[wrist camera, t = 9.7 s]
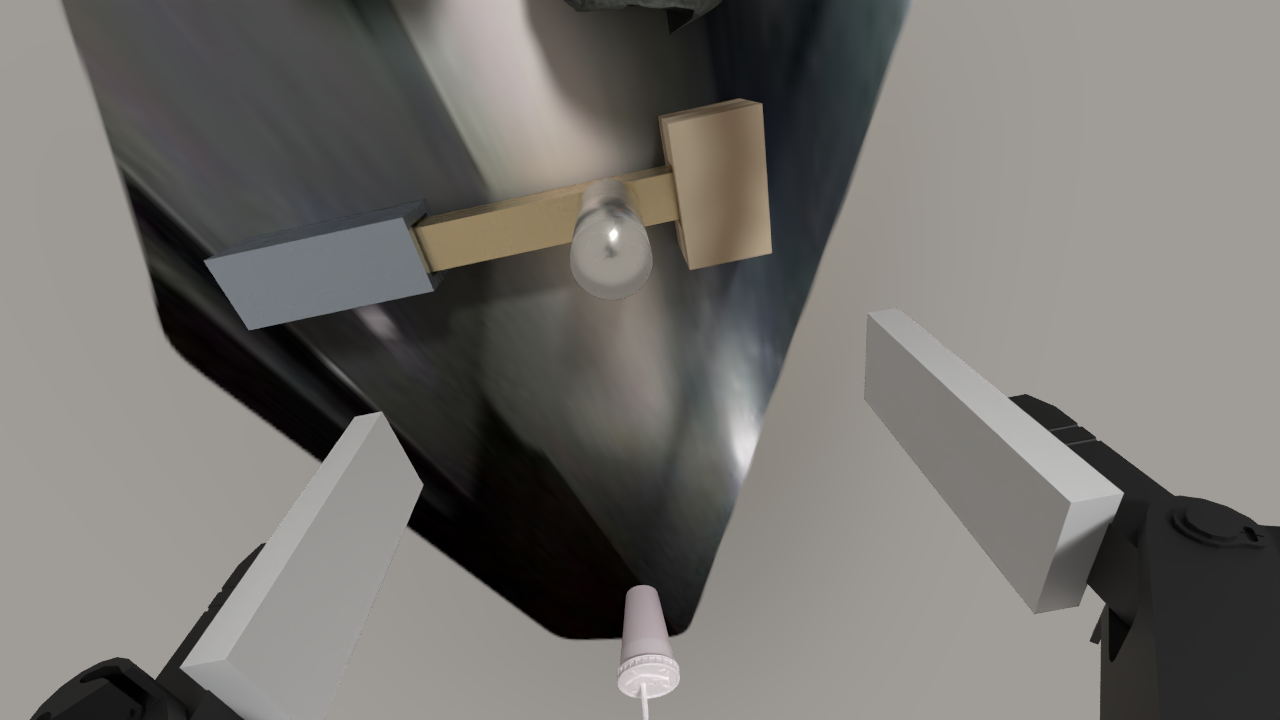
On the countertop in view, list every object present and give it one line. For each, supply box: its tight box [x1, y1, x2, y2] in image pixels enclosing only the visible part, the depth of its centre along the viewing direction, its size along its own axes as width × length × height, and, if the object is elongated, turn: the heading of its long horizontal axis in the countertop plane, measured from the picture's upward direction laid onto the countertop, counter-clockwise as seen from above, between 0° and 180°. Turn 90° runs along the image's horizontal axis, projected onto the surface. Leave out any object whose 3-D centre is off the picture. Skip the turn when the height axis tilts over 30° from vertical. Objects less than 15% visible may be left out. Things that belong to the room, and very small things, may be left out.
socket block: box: [658, 98, 772, 270], centre depth 34 cm, size 6×9×6 cm, turn 11°
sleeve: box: [204, 200, 451, 330], centre depth 35 cm, size 13×5×5 cm, turn 101°
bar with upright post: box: [411, 164, 680, 300], centre depth 30 cm, size 23×4×13 cm, turn 101°
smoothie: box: [617, 585, 680, 720], centre depth 53 cm, size 6×6×14 cm
